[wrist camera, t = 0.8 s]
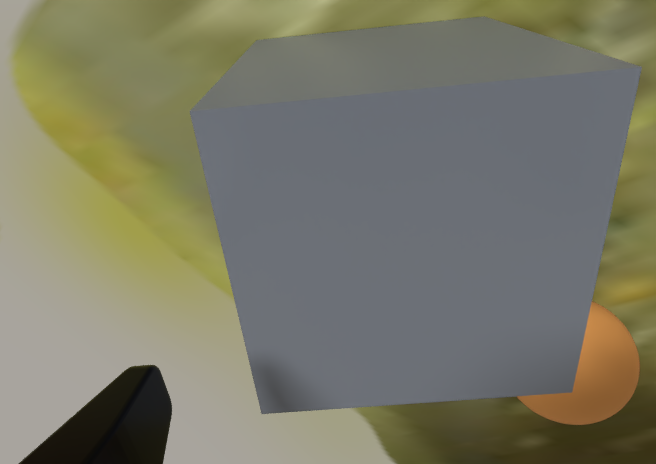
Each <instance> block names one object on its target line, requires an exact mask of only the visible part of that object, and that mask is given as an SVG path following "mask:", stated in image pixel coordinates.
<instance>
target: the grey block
mask: <svg viewBox="0 0 656 464" xmlns="http://www.w3.org/2000/svg"><path fill="white" fill-rule="evenodd" d="M641 68H642V67H640V66H637V65H634V64H631V63H628V62H625V61H621V60H618V59H615V58H612V57H609V56H606V55H603V54H600V53H597V52H593V51H590V50H587V49H584V48H581V47H578V46H575V45H572V44H568V43H565V42H562V41H559V40H556V39H553V38H550V37H547V36H543V35H540V34H537V33H534V32H531V31H528V30H525V29H522V28H518V27H515V26H512V25H509V24H506V23H503V22H500V21H497V20H494V19H490V18H487V17H475V18H465V19H456V20H446V21H436V22H427V23H417V24H408V25H398V26H388V27H379V28H369V29H360V30H350V31H340V32H331V33H321V34H312V35H302V36H292V37H283V38H273V39H264V40H256V41H255V43H254V44H253V45H252V46H251V47H250V48H249V49H248V50H247V51H246V52H245V53H244V54H243V55H242V56H241V57H240V58H239V60H238V61H237V62H236V63H235V64H234V65H233V66H232V67H231V68H230V69H229V70H228V71H227V72H226V73H225V74H224V75H223V77H222V78H221V79H220V80H219V81H218V82H217V83H216V84H215V85H214V86H213V87H212V88H211V89H210V90H209V91H208V92H207V94H206V95H205V96H204V97H203V98H202V99H201V100H200V101H199V102H198V103H197V104H196V105H195V106H194V107H193V108H192V109H191V111H190V115H191V119H192V123H193V127H194V131H195V136H196V140H197V144H198V148H199V152H200V157H201V161H202V165H203V169H204V173H205V178H206V182H207V186H208V190H209V194H210V199H211V203H212V207H213V211H214V216H215V220H216V224H217V228H218V232H219V237H220V241H221V245H222V249H223V253H224V258H225V262H226V266H227V270H228V274H229V279H230V283H231V287H232V291H233V295H234V300H235V304H236V308H237V312H238V316H239V320H240V325H241V329H242V333H243V337H244V342H245V346H246V350H247V354H248V358H249V362H250V366H251V371H252V375H253V379H254V384H255V388H256V392H257V396H258V400H259V404H260V409H261V413H262V414H268V413H282V412H297V411H311V410H325V409H341V408H355V407H369V406H384V405H398V404H413V403H427V402H442V401H456V400H471V399H485V398H500V397H514V396H529V395H543V394H558V393H572V391H573V387H574V382H575V377H576V373H577V368H578V363H579V359H580V354H581V349H582V345H583V340H584V335H585V331H586V326H587V321H588V316H589V312H590V307H591V302H592V298H593V293H594V288H595V284H596V279H597V274H598V270H599V265H600V260H601V256H602V251H603V246H604V242H605V237H606V232H607V228H608V223H609V218H610V213H611V209H612V204H613V199H614V195H615V190H616V185H617V181H618V176H619V171H620V167H621V162H622V157H623V153H624V148H625V143H626V139H627V134H628V129H629V124H630V120H631V115H632V110H633V106H634V101H635V96H636V92H637V87H638V82H639V78H640V73H641Z"/></svg>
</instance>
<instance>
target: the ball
mask: <svg viewBox="0 0 656 464" xmlns="http://www.w3.org/2000/svg"><path fill="white" fill-rule="evenodd" d="M639 373H640V362H639V355H638V351H637V347H636V345H635V342H634V340H633V338H632V336H631V334H630V333H629V331H628V330H627V328H626V327H625V326H624V324H623V323H622V322H621V321H620V320H619V319H618V318H617V317H616V316H615V315H614V314H612V313H611V312H610V311H608V310H607V309H606V308H604V307H603V306H601V305H599V304H597V303H595V302H593V301H592V302H591V307H590V312H589V316H588V321H587V326H586V331H585V335H584V340H583V345H582V349H581V354H580V359H579V363H578V368H577V373H576V377H575V382H574V387H573V391H572V393H558V394H543V395H529V396H517V398H518V399H519V400H520V401H521V402H522V403H523V404H524V405H526V406H527V407H528V408H529V409H531V410H532V411H534V412H535V413H537V414H539V415H541V416H543V417H545V418H547V419H549V420H552V421H555V422H559V423H563V424H571V425H585V424H592V423H596V422H599V421H602V420H605V419H607V418H609V417H611V416H613V415H614V414H616V413H617V412H618V411H620V410H621V409H622V408H623V407H624V406H625V405H626V404H627V402H628V401H629V400H630V398H631V397H632V395H633V394H634V391H635V389H636V386H637V384H638V379H639Z"/></svg>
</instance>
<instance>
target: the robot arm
mask: <svg viewBox="0 0 656 464" xmlns="http://www.w3.org/2000/svg"><path fill="white" fill-rule="evenodd" d="M171 415H172V405H171V399H170V396H169V394H168V391H167V388H166V386H165V383H164V380H163V377H162V375H161V372H160V370H159V368H158V367H157V366H155V365H143V366H133V367H130V368H128V369H127V370H125V371H124V372H123V373H122V374H121V375H119V376H118V377H117V378H116V379H115V380H114V381H113V382H111V383H110V384H109V385H108V386H107V387H106V388H105V389H103V390H102V391H101V392H100V393H99V394H98V395H97V396H95V397H94V398H93V399H92V400H91V401H90V402H89V403H87V404H86V405H85V406H84V407H83V408H82V409H81V410H79V411H78V412H77V413H76V414H75V415H74V416H73V417H71V418H70V419H69V420H68V421H67V422H66V423H64V424H63V425H62V426H61V427H60V428H59V429H58V430H57V431H55V432H54V433H53V434H52V435H51V436H50V437H48V438H47V439H46V440H45V441H44V442H43V443H42V444H40V445H39V446H38V447H37V448H36V449H35V450H34V451H32V452H31V453H30V454H29V455H28V456H27V457H26V458H24V459H23V460H22V461H21V462H20V463H19V464H163V460H164V454H165V449H166V443H167V438H168V432H169V427H170V421H171Z"/></svg>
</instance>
